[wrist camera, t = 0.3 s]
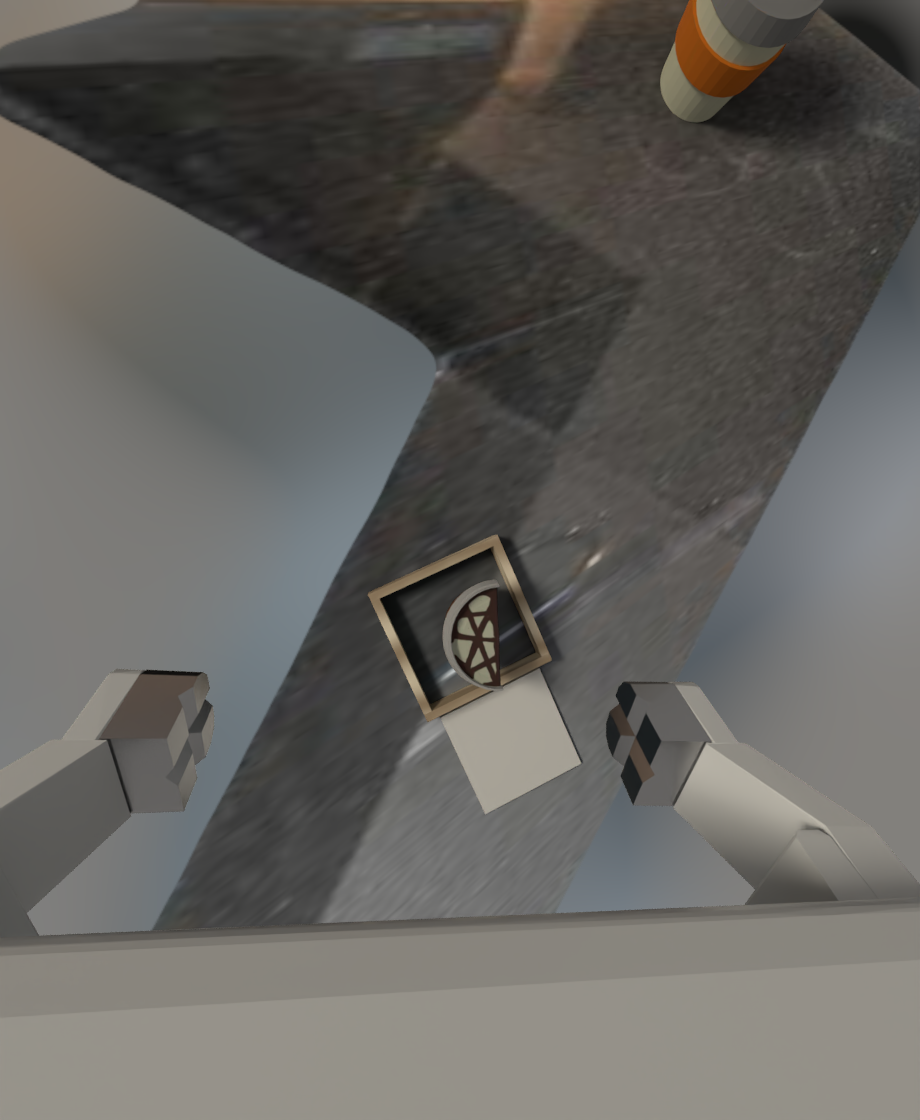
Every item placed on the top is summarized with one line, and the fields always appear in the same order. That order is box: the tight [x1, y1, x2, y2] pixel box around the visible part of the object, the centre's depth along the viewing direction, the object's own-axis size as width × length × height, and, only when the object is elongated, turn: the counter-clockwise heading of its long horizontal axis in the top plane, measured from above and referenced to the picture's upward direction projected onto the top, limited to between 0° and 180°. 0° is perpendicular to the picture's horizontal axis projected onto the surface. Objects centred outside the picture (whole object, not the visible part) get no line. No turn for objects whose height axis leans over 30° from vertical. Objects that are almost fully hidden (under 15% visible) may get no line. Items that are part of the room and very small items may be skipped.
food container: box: [443, 580, 504, 691], centre depth 60 cm, size 12×6×10 cm, turn 2°
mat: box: [440, 668, 581, 814], centre depth 66 cm, size 14×14×1 cm
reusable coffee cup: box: [660, 0, 824, 122], centre depth 59 cm, size 13×13×15 cm
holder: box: [368, 535, 552, 722], centre depth 63 cm, size 17×17×2 cm
